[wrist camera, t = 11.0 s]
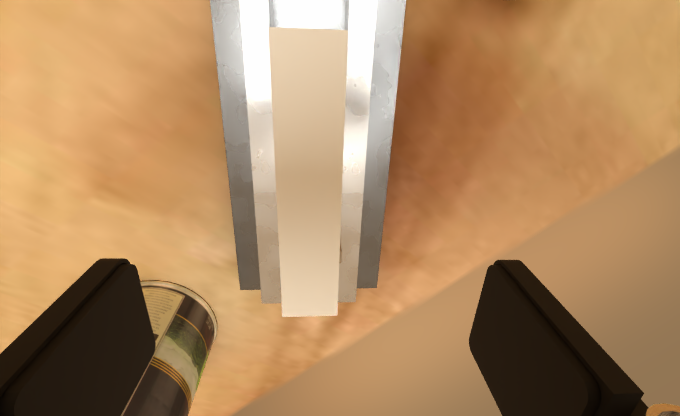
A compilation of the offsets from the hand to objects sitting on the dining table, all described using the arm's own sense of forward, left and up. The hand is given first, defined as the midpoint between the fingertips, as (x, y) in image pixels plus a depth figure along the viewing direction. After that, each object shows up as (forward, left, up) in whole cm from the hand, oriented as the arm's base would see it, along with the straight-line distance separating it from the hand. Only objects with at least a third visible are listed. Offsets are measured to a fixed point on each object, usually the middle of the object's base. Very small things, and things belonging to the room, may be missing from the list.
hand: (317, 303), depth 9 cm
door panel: (0, 0, -17) cm, 17 cm away
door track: (0, 0, -19) cm, 19 cm away
